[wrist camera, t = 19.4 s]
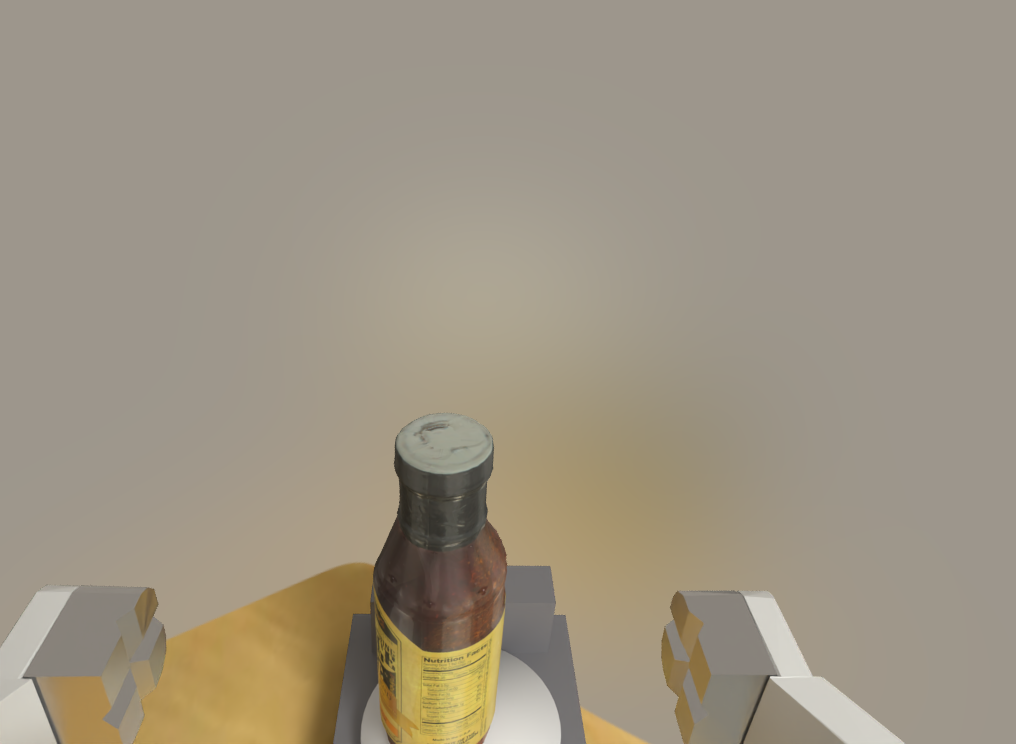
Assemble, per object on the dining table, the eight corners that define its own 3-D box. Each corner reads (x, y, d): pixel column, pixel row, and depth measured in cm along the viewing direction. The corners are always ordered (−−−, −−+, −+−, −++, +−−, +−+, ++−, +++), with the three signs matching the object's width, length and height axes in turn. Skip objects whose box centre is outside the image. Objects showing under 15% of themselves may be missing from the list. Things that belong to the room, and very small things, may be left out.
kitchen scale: (320, 874, 37) (312, 790, 33) (355, 640, 49) (351, 559, 45) (592, 867, 38) (614, 785, 34) (559, 640, 50) (572, 562, 47)
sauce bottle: (393, 668, 43) (386, 382, 33) (498, 679, 43) (524, 395, 32) (367, 778, 37) (348, 474, 27) (488, 790, 37) (516, 490, 27)
